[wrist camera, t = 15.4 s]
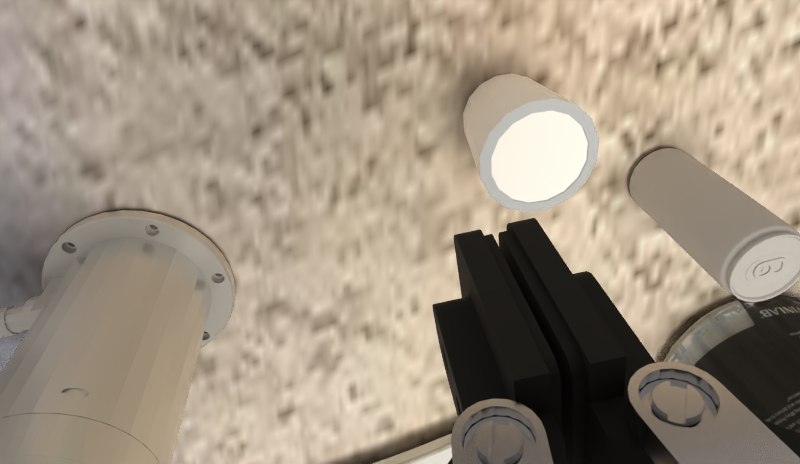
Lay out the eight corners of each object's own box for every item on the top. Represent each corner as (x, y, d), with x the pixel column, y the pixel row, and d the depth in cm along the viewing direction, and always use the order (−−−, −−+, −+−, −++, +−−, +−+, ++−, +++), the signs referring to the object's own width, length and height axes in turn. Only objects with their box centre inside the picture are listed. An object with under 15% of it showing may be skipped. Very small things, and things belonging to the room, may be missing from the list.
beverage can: (625, 153, 39) (731, 245, 29) (691, 136, 39) (821, 222, 29) (625, 210, 42) (723, 313, 32) (687, 194, 42) (805, 291, 32)
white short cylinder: (519, 40, 34) (561, 71, 28) (573, 119, 38) (621, 162, 32) (432, 112, 36) (455, 156, 30) (491, 181, 39) (522, 234, 33)
